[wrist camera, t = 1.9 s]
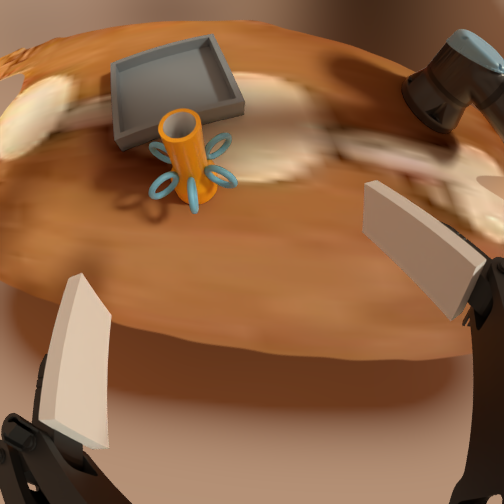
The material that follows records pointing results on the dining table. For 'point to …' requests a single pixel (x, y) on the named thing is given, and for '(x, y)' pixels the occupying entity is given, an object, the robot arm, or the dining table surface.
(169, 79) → the tray
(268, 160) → the dining table surface
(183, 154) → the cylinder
